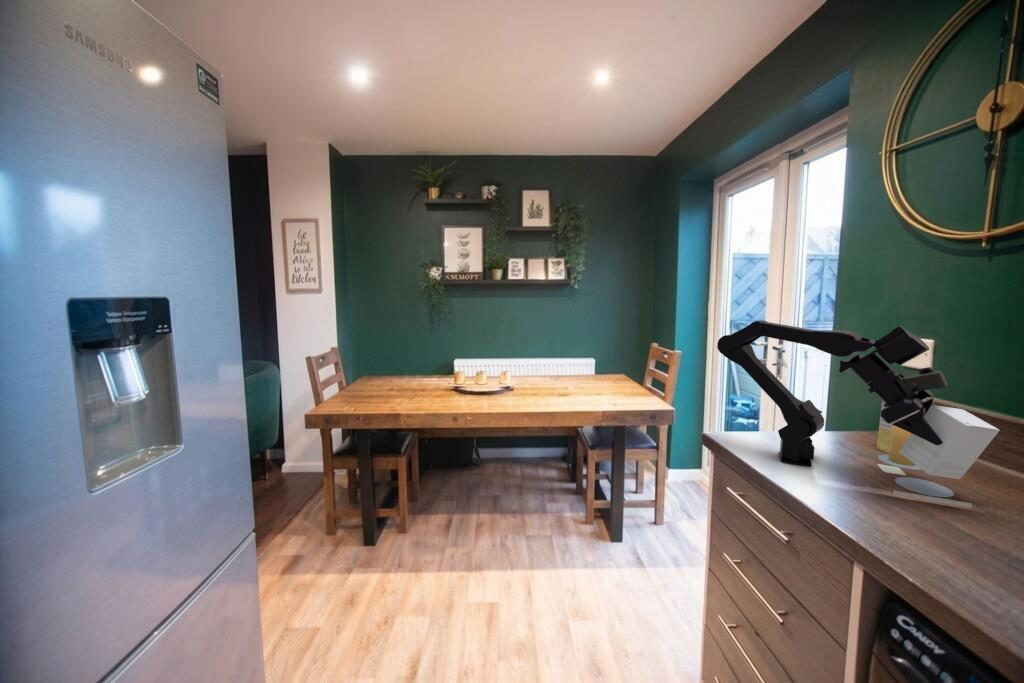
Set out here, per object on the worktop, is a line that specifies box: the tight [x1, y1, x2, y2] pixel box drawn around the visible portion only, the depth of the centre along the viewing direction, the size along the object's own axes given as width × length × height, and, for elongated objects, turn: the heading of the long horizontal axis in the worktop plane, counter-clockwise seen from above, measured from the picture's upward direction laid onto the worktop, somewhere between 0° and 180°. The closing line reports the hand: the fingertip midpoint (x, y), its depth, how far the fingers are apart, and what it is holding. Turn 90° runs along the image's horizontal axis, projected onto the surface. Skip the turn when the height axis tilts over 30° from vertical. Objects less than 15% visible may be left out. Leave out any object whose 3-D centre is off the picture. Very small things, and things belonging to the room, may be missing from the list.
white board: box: [876, 454, 973, 509], centre depth 94 cm, size 12×24×1 cm, turn 153°
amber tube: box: [888, 420, 915, 466], centre depth 99 cm, size 5×5×12 cm
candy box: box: [876, 400, 892, 453], centre depth 107 cm, size 9×4×15 cm, turn 103°
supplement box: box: [899, 404, 1001, 480], centre depth 83 cm, size 7×7×13 cm
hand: (943, 438), depth 83 cm, fingers closed on supplement box, 9 cm apart
